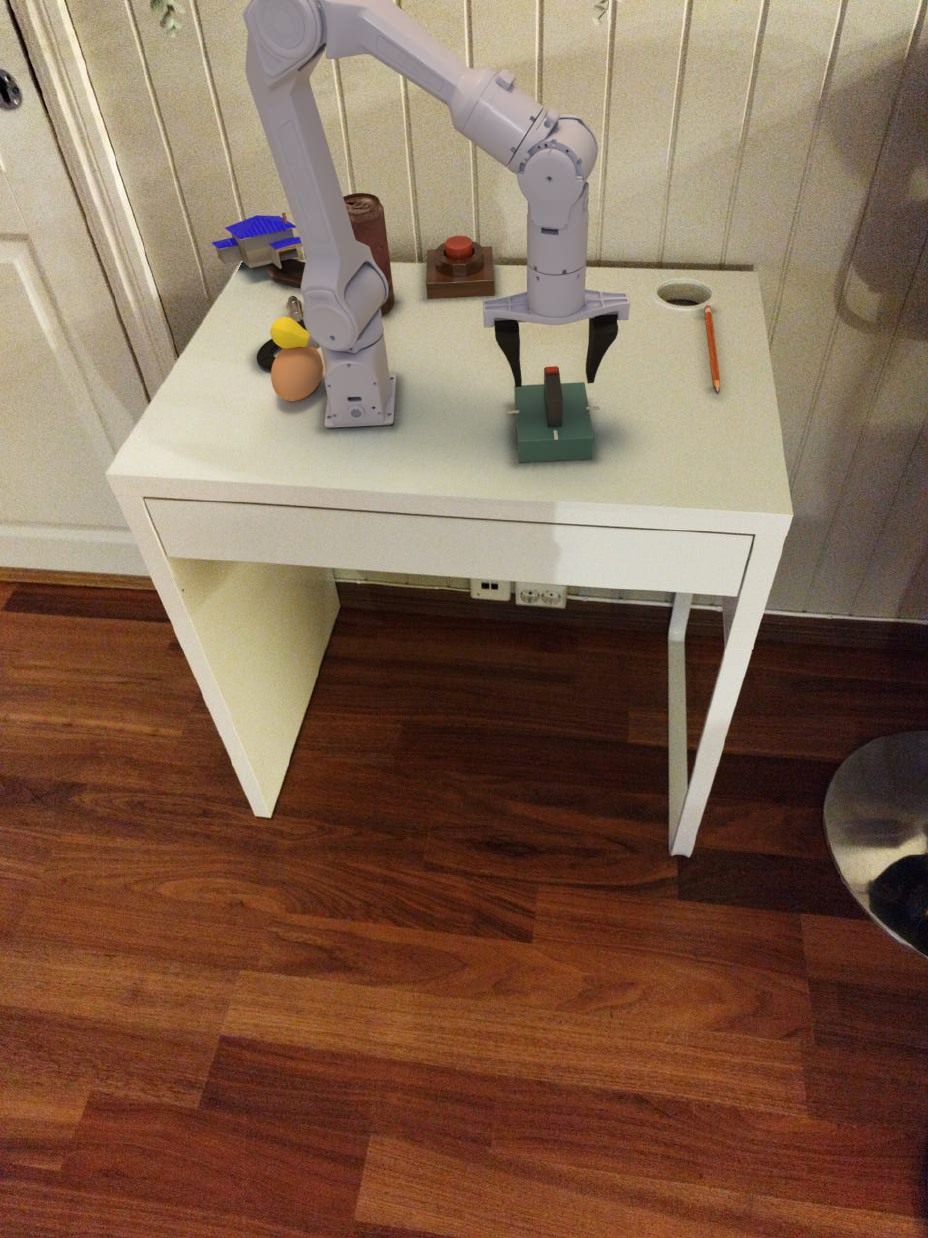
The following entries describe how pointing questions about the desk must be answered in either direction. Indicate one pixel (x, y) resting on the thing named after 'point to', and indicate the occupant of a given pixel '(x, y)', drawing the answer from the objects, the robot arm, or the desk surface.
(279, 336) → the light bulb
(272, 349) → the micrometer
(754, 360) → the desk surface
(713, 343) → the pencil
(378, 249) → the can
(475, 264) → the button block
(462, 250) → the button
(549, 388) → the battery with red terminal
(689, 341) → the desk surface
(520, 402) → the panel
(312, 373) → the egg
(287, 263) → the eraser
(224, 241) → the house
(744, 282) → the desk surface
